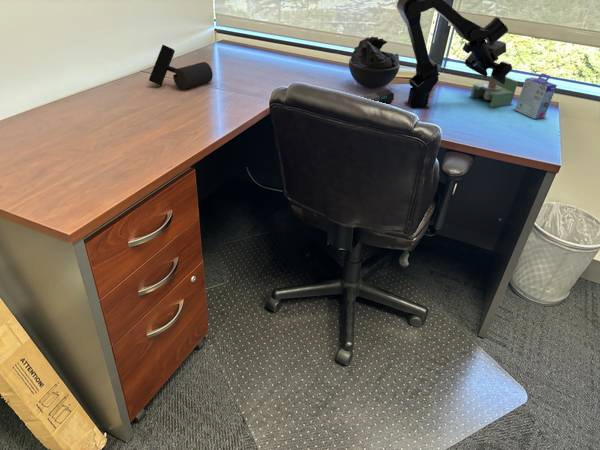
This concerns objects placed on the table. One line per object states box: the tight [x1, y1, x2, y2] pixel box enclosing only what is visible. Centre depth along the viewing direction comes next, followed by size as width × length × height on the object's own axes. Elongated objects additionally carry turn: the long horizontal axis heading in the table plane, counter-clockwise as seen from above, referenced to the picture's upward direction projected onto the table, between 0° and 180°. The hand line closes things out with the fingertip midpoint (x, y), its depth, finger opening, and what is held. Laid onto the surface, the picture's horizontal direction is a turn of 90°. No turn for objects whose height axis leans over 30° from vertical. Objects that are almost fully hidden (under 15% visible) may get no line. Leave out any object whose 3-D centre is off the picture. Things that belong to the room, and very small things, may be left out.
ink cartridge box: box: [514, 72, 558, 120], centre depth 169 cm, size 10×6×14 cm, turn 28°
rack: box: [470, 75, 519, 108], centre depth 181 cm, size 10×12×9 cm
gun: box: [361, 88, 395, 105], centre depth 166 cm, size 4×20×10 cm, turn 109°
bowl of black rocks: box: [348, 36, 401, 90], centre depth 184 cm, size 20×20×19 cm
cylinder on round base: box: [482, 69, 501, 101], centre depth 179 cm, size 7×7×12 cm
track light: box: [148, 44, 214, 91], centre depth 178 cm, size 15×14×20 cm
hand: (494, 79), depth 178 cm, fingers open, 9 cm apart
